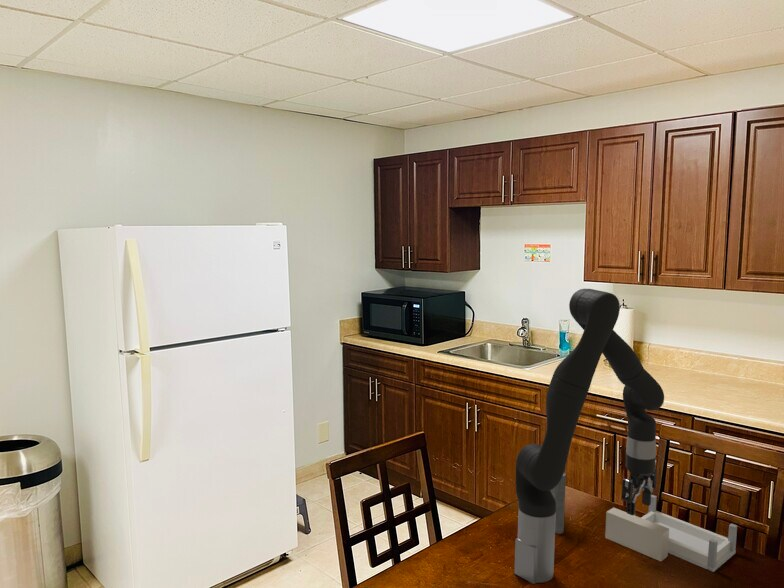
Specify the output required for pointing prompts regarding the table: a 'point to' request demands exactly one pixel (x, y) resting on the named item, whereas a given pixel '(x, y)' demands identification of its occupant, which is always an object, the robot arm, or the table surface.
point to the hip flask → (559, 504)
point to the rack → (694, 540)
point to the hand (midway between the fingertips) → (638, 509)
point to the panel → (637, 534)
